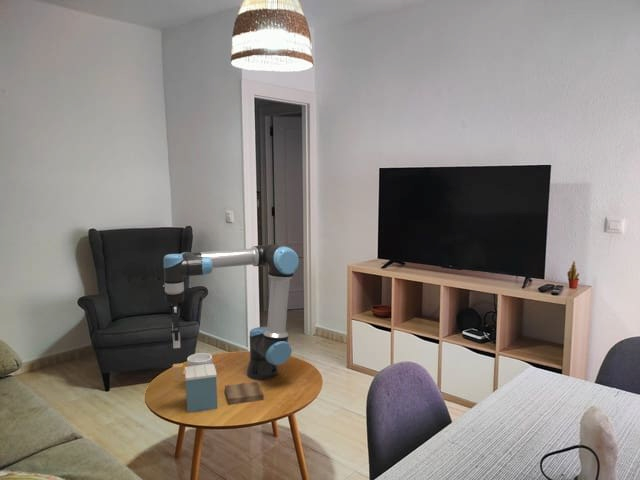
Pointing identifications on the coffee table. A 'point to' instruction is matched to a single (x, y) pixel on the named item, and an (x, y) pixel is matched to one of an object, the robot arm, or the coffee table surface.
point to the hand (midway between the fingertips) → (176, 342)
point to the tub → (201, 394)
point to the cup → (199, 359)
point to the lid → (193, 372)
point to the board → (243, 393)
